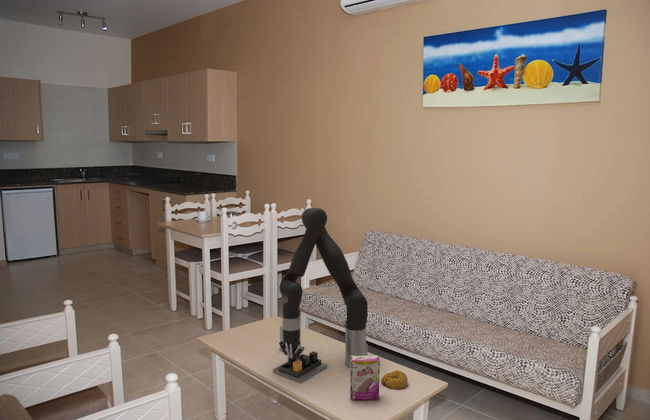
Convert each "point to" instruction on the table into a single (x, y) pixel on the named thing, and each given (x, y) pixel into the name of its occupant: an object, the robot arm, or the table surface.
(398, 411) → the table surface
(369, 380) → the candy bar box
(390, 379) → the bagel
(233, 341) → the table surface
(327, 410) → the table surface
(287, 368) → the panel
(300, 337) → the supplement box
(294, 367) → the block
